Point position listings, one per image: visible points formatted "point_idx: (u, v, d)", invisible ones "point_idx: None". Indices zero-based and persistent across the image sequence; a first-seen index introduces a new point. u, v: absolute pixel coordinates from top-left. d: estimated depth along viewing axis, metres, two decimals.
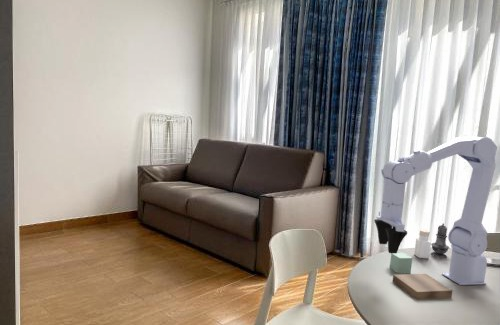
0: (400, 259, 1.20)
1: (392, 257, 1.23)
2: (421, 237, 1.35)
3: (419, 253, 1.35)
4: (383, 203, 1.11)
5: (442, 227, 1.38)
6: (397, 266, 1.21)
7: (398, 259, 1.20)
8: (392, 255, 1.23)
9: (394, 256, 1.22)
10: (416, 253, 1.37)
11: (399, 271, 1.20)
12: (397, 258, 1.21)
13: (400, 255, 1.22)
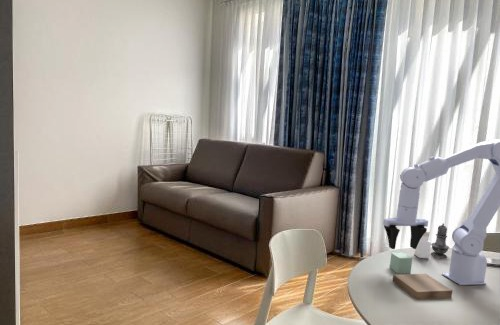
0: (400, 259, 1.20)
1: (392, 257, 1.23)
2: (421, 237, 1.35)
3: (419, 253, 1.35)
4: None
5: (442, 227, 1.38)
6: (397, 266, 1.21)
7: (398, 259, 1.20)
8: (392, 255, 1.23)
9: (394, 256, 1.22)
10: (416, 253, 1.37)
11: (399, 271, 1.20)
12: (397, 258, 1.21)
13: (400, 255, 1.22)
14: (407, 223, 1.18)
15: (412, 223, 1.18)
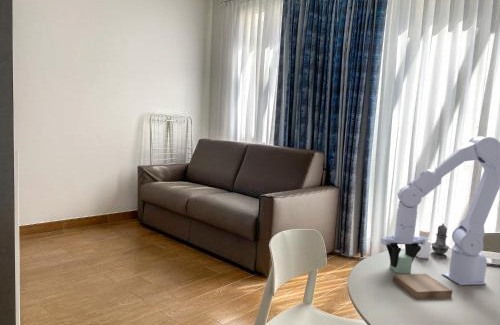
0: (400, 259, 1.20)
1: None
2: None
3: (419, 253, 1.35)
4: None
5: (442, 227, 1.38)
6: (397, 266, 1.21)
7: (398, 259, 1.20)
8: None
9: None
10: None
11: (399, 271, 1.20)
12: None
13: (400, 254, 1.22)
14: (405, 242, 1.19)
15: (410, 242, 1.19)
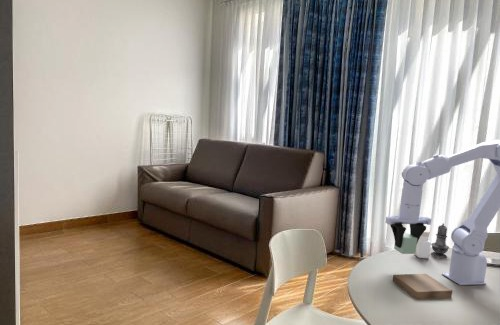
0: (405, 239, 1.18)
1: None
2: (421, 237, 1.35)
3: (419, 253, 1.35)
4: None
5: (442, 227, 1.38)
6: (401, 246, 1.18)
7: (403, 239, 1.18)
8: None
9: None
10: (416, 253, 1.37)
11: (404, 251, 1.18)
12: None
13: (404, 235, 1.20)
14: (410, 221, 1.16)
15: (415, 221, 1.16)
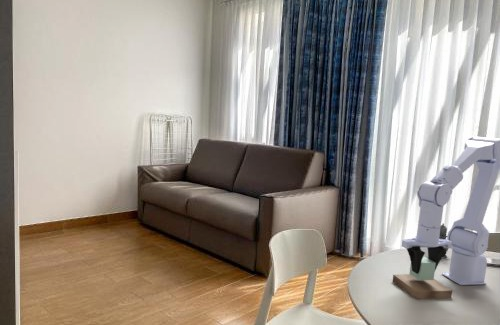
0: (422, 264, 1.07)
1: None
2: None
3: None
4: None
5: (442, 227, 1.38)
6: None
7: None
8: None
9: None
10: None
11: (421, 277, 1.07)
12: None
13: None
14: (429, 245, 1.05)
15: (434, 245, 1.05)
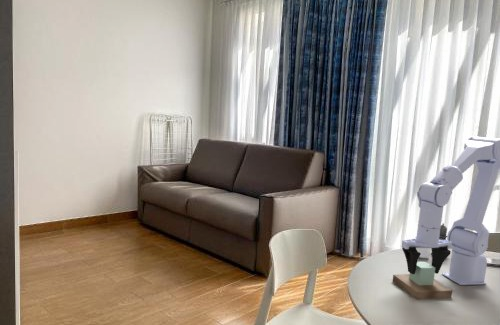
0: (422, 269, 1.07)
1: None
2: None
3: None
4: None
5: (442, 227, 1.38)
6: (418, 277, 1.08)
7: (419, 269, 1.07)
8: None
9: None
10: None
11: (420, 282, 1.07)
12: (418, 268, 1.08)
13: (421, 264, 1.10)
14: (429, 245, 1.05)
15: (434, 245, 1.05)
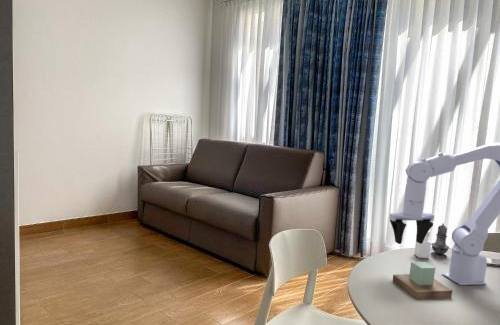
0: (422, 269, 1.07)
1: (411, 267, 1.11)
2: None
3: (419, 253, 1.35)
4: None
5: (442, 227, 1.38)
6: (418, 277, 1.08)
7: (419, 269, 1.07)
8: (412, 264, 1.10)
9: (414, 266, 1.09)
10: (416, 253, 1.37)
11: (420, 282, 1.07)
12: (418, 268, 1.08)
13: (421, 264, 1.10)
14: (414, 217, 1.17)
15: (419, 217, 1.17)
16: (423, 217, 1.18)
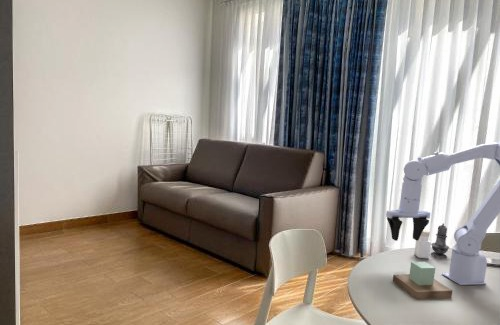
0: (422, 269, 1.07)
1: (411, 267, 1.11)
2: (421, 237, 1.35)
3: (419, 253, 1.35)
4: None
5: (442, 227, 1.38)
6: (418, 277, 1.08)
7: (419, 269, 1.07)
8: (412, 264, 1.10)
9: (414, 266, 1.09)
10: (416, 253, 1.37)
11: (420, 282, 1.07)
12: (418, 268, 1.08)
13: (421, 264, 1.10)
14: (410, 215, 1.20)
15: (415, 215, 1.20)
16: (419, 214, 1.21)
